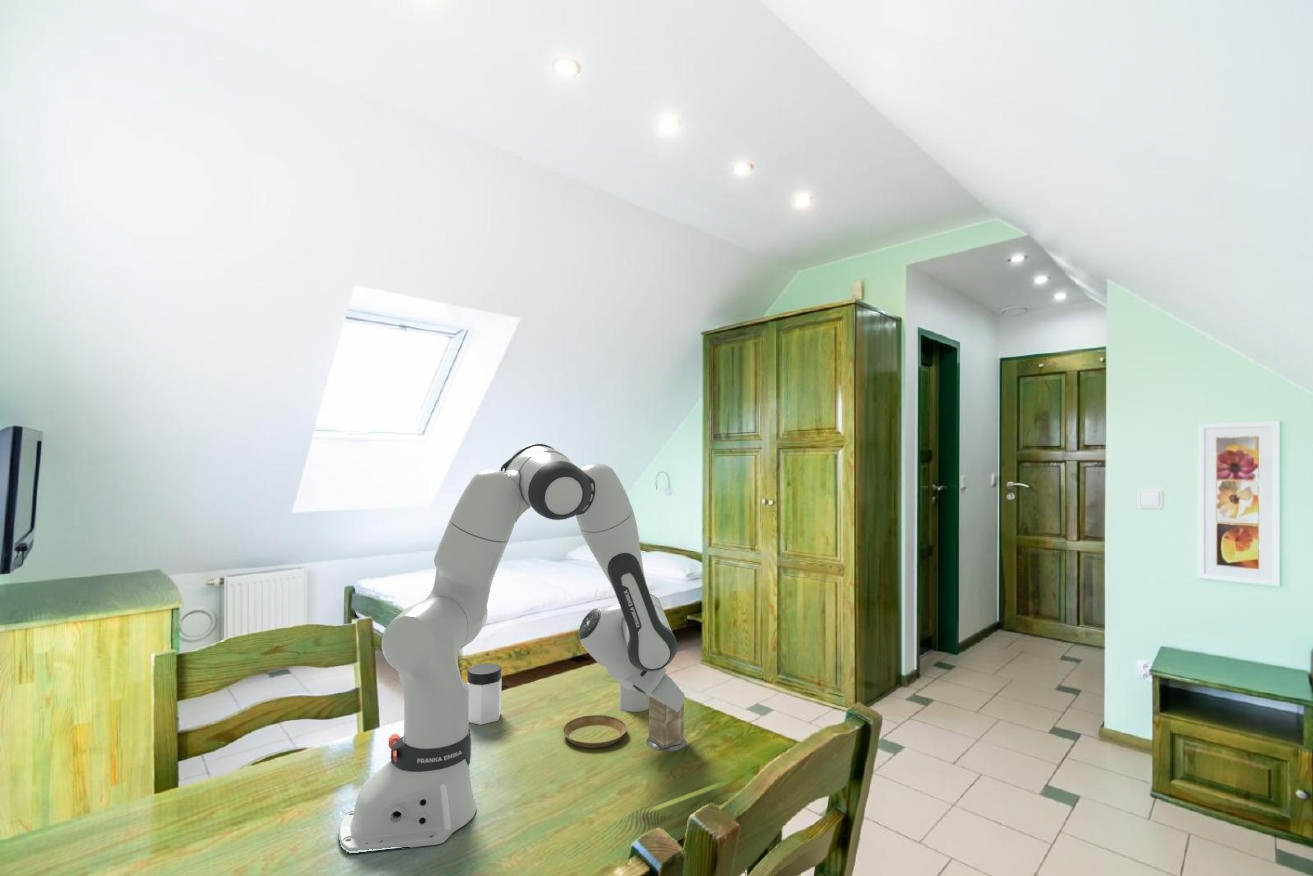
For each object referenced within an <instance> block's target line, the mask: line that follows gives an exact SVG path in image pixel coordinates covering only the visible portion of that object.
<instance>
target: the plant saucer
mask: <svg viewBox="0 0 1313 876" xmlns="http://www.w3.org/2000/svg"><path fill="white" fill-rule="evenodd" d="M598 725H599V726H606V727H610V728H612V729H615V730H616V731H618V732H619V734H620V735H619V736H617V737H616V738H613V739H610V740H606V741H598V742H586V741H579V740H576V739H573V738H571V737H570V734H571V733H572V732H573V731H575V730H578V729H579V728H582V727H588V726H598ZM627 729H628V726H627V724H626V722H625V721H623V720H621V719H620V718H618V717H615V716H611V715H606V714H605V715H604V714H591V715H583V716H582V715H581V716H579V717H575V718H573V719H571V720H569V721H567V722H566V723H565V724H564V725H563V727H562V734H563V736H564V737H565V738H566V739H567V740H568V741H569V742H570V743H571V744H573V745H574V746H577V747H581V748H589V749H598V748H605V747H609V746H612V745H614V744H615V743H617V742H619V741H620V739H622V737H623V736H624V735H625V734H626V732H627Z"/></svg>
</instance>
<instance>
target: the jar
mask: <svg viewBox="0 0 1313 876" xmlns="http://www.w3.org/2000/svg"><path fill="white" fill-rule="evenodd" d="M466 677H467V681H466V684H467V686H468V688H469V723H470V724H476V725H481V726H483V725H486V724H489V723H494V722H497V721H500V717H501V713H502V681H503V679H502V678H503V677H502V666H501V665H500V664H496V663H490V662H489V663H479V664H475V665H472V666H470V667H469V668H468V669H467V675H466Z"/></svg>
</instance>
